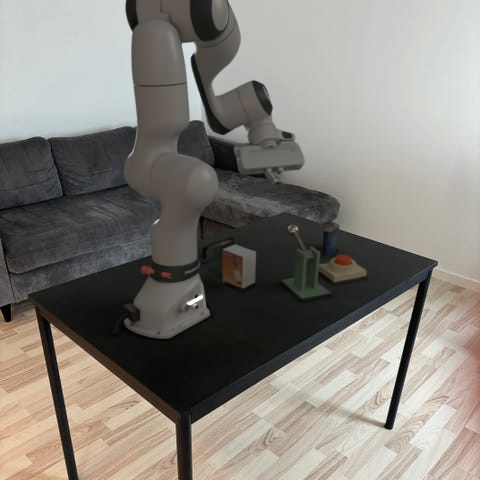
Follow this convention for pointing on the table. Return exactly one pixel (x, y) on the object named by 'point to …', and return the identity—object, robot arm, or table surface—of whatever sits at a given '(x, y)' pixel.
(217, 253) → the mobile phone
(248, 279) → the small box
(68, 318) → the table surface
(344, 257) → the button
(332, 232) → the flask
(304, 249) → the lever
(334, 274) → the button housing
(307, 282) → the switch bracket
